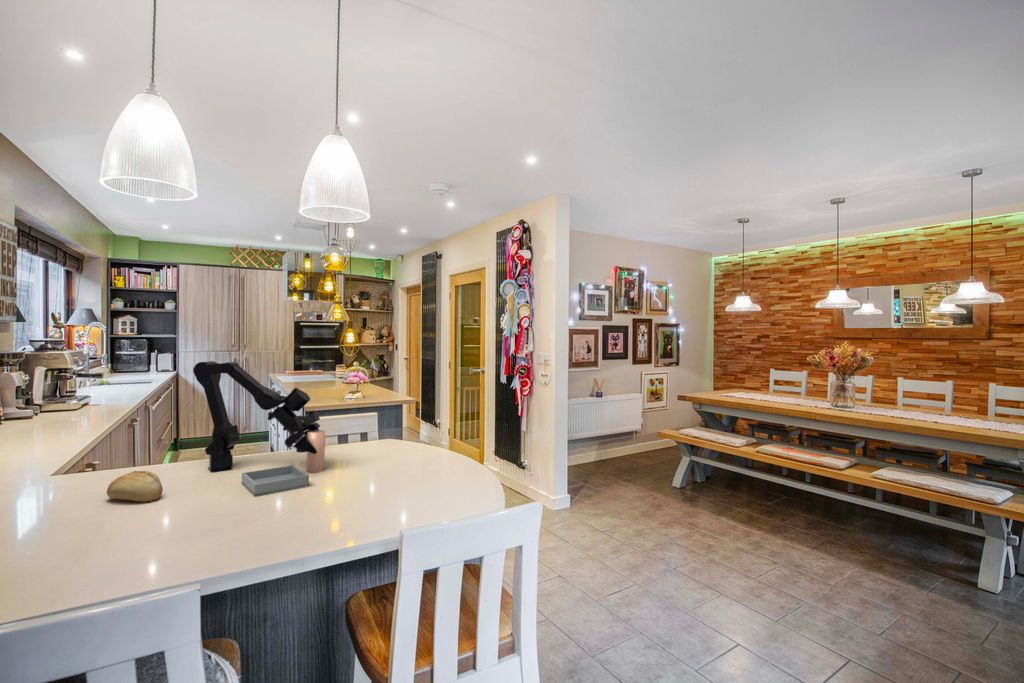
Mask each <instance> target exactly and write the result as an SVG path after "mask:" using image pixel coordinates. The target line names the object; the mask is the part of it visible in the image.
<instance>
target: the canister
mask: <svg viewBox="0 0 1024 683" xmlns="http://www.w3.org/2000/svg"><path fill="white" fill-rule="evenodd" d="M307 434H308V440H309V441H310V442H311V444H312V445H313V446H314V448H315V449H316V450H317V453H316V454H313V453H310V452H308V451H307V452H306V471H305V472H307V471H308V472H307V473H320V472H319V471H321V472H323V471H325V457H326V456H325V454H326V453H325V451H326V431H325V430H322V429H319V430H312V431H308V432H307Z"/></svg>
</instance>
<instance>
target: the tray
mask: <svg viewBox="0 0 1024 683" xmlns="http://www.w3.org/2000/svg"><path fill="white" fill-rule="evenodd" d="M241 485H242V486H243V487H244V488H245V487H246V488H247V489H248V490H249V491H250V492H251V493H252V494H253V495H254V496H255V497H259V495H260V496H265V495H270V494H269V493H271V494H275V493H274V492H276V493H280V491H281V492H285V490H286V491H290V490H289V489H292V490H296V488H297V489H301V488H300V487H302V488H306V487H305V486H307V487H309V486H310V475H309V474H308V473H306V471H305V472H304V471H303V470H302V469H300V468H298V467H297V466H295V464H289V465H285V466H277V467H272V468H270V467H269V468H266V469H258V470H252V471H246V472H242V473H241ZM247 489H246V490H247ZM249 491H248V492H249ZM250 492H249V493H250ZM251 493H250V494H251ZM252 494H251V495H252ZM264 494H265V495H264ZM253 495H252V496H253ZM254 496H253V497H254Z"/></svg>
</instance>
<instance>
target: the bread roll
mask: <svg viewBox="0 0 1024 683" xmlns="http://www.w3.org/2000/svg"><path fill="white" fill-rule="evenodd" d="M163 490H164V489H163V485H162V483H161V480H160V478H159V476H158V475H157V474H156V473H154V472H151V471H148V470H147V471H146V470H139V471H138V470H134V471H131V472H128V473H125V474H123V475H121V476H119V477H117V478H115V479H114V480H112V481H111V482H110V483H109V485H108V487H107V490H106V495H107V497H108V498H110V499H113V500H125V501H133V502H141V503H142V502H143V503H145V502H147V501H150V502H153V501H152V500H154V501H156V500H158V499H159V498H160V497H161V496H162V495H163V494H162V493H163ZM155 499H156V500H155ZM147 503H148V502H147Z"/></svg>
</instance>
